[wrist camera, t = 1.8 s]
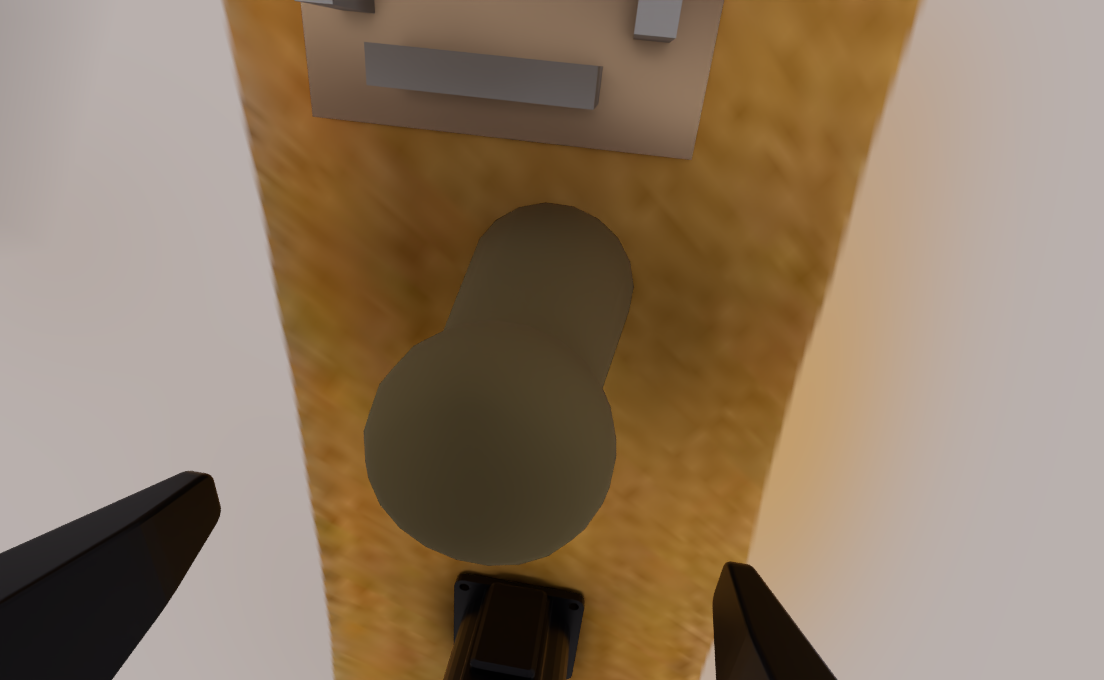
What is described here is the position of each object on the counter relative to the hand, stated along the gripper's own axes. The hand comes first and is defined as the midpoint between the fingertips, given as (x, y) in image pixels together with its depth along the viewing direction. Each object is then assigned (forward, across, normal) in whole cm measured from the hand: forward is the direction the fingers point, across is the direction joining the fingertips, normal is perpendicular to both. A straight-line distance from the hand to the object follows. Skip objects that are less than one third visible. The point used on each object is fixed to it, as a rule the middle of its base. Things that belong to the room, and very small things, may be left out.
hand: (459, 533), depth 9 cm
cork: (+12, 0, 0) cm, 12 cm away
